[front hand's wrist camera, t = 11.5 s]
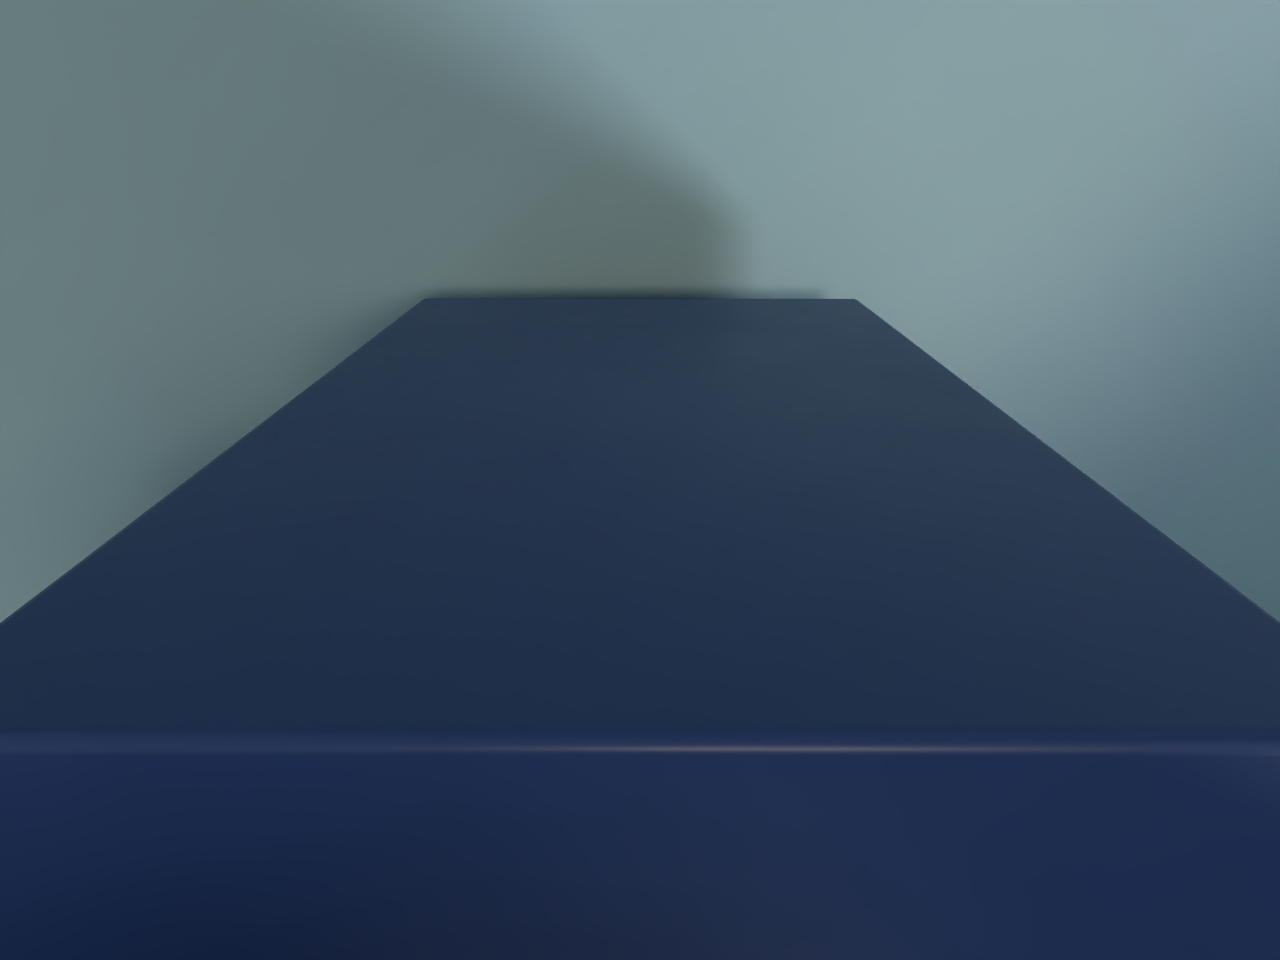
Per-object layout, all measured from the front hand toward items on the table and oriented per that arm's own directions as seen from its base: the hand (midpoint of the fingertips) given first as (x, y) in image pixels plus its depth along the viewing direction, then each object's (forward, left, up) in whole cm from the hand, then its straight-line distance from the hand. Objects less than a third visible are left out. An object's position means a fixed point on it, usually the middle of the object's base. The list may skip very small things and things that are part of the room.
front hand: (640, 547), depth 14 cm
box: (+6, +3, -3) cm, 8 cm away
